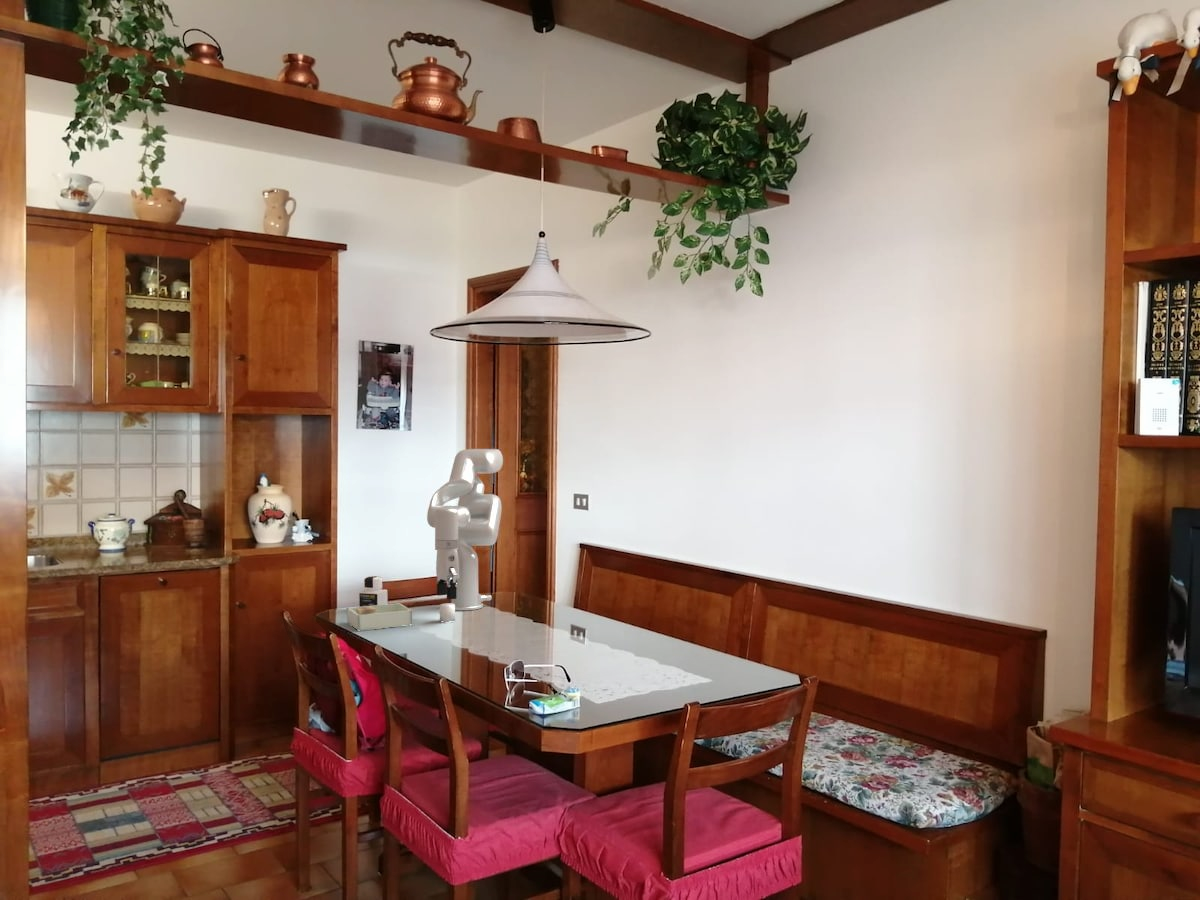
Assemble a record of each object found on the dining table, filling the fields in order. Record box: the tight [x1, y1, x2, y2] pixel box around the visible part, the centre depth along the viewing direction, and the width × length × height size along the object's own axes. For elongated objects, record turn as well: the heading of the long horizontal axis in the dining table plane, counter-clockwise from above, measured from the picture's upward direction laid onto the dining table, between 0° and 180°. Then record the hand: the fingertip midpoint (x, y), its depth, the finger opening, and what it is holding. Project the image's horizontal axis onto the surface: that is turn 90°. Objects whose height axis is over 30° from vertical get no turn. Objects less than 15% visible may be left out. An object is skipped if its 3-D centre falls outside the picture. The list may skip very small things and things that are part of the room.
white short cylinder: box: [439, 602, 456, 622], centre depth 304 cm, size 5×5×6 cm
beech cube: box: [356, 606, 375, 615], centre depth 297 cm, size 5×5×5 cm
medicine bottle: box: [358, 575, 389, 607], centre depth 321 cm, size 7×7×12 cm
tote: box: [346, 602, 413, 632], centre depth 299 cm, size 17×14×5 cm
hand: (446, 597), depth 303 cm, fingers open, 9 cm apart
